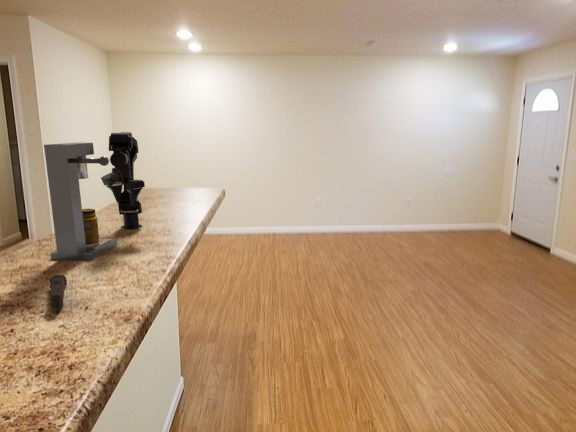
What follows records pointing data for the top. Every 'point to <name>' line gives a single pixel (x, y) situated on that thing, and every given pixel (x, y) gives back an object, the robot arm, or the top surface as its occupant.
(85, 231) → the condiment
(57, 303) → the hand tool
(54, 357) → the top surface
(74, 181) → the coffee machine
